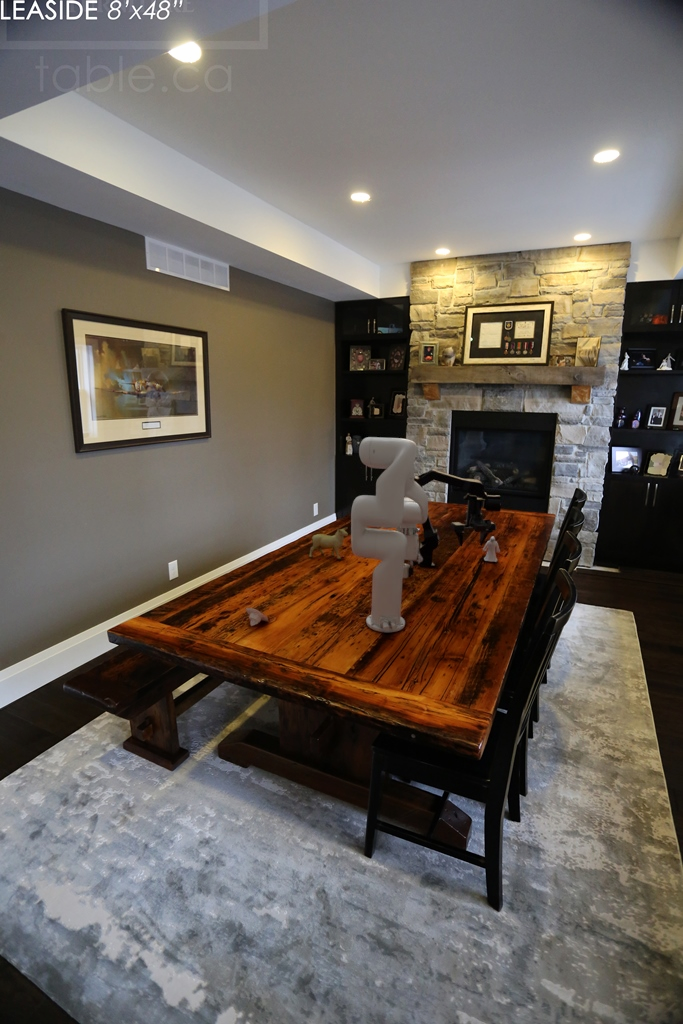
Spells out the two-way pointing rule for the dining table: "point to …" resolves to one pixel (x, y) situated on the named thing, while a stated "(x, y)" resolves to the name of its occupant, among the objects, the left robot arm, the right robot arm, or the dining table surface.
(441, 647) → the dining table surface
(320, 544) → the toy
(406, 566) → the canister
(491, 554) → the figurine
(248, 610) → the seashell
